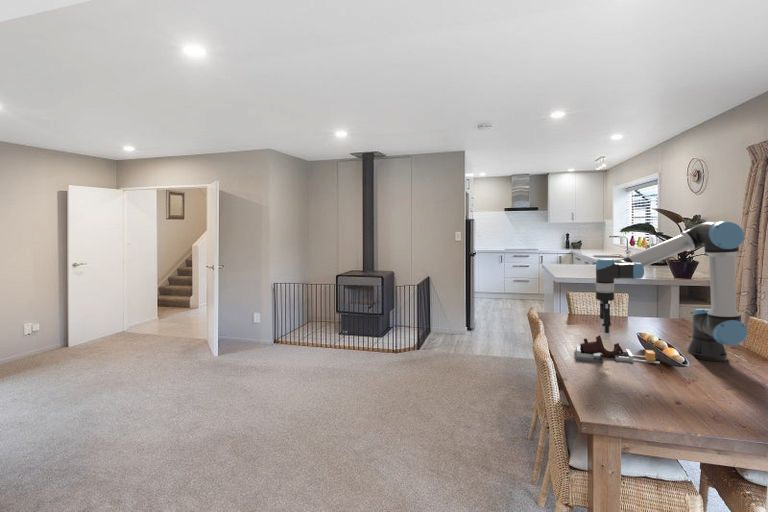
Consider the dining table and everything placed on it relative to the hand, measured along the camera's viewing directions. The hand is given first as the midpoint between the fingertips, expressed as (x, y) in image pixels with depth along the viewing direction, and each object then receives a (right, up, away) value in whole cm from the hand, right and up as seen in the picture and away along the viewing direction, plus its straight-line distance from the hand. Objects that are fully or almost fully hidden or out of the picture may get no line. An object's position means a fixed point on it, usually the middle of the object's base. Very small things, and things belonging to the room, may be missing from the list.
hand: (604, 335), depth 194 cm
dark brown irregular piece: (-1, -10, +2) cm, 10 cm away
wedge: (+17, -10, -6) cm, 21 cm away
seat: (+4, -11, -1) cm, 12 cm away
